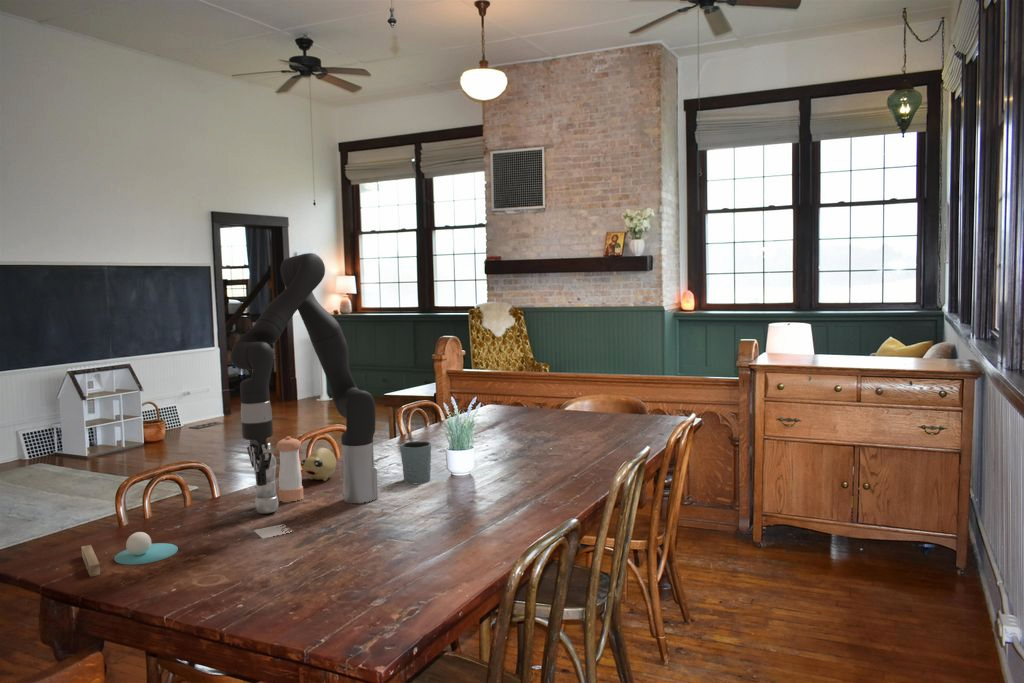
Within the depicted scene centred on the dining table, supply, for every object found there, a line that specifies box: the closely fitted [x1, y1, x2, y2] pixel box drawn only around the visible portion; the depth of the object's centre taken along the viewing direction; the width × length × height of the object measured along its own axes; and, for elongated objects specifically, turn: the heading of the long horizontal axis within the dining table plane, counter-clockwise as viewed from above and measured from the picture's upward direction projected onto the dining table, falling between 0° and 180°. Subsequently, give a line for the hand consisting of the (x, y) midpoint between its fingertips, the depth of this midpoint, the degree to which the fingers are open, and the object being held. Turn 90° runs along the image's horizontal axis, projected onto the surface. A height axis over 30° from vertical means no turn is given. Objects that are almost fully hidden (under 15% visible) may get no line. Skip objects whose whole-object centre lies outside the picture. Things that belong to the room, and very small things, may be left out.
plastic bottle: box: [253, 441, 280, 514], centre depth 217 cm, size 6×7×20 cm
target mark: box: [113, 542, 179, 566], centre depth 186 cm, size 14×14×1 cm
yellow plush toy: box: [300, 447, 337, 482], centre depth 252 cm, size 10×12×11 cm
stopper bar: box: [81, 544, 101, 578], centre depth 179 cm, size 2×16×2 cm, turn 35°
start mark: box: [253, 523, 293, 540], centre depth 201 cm, size 8×8×1 cm
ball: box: [125, 531, 152, 555], centre depth 186 cm, size 6×6×6 cm
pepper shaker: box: [276, 435, 304, 503], centre depth 230 cm, size 7×7×19 cm
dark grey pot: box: [399, 440, 432, 484], centre depth 249 cm, size 10×10×12 cm
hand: (261, 484), depth 198 cm, fingers closed
